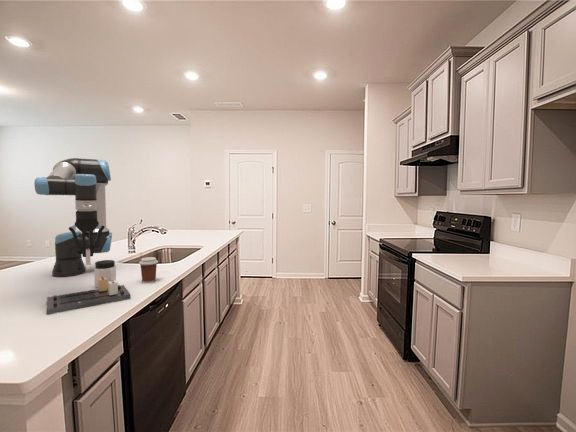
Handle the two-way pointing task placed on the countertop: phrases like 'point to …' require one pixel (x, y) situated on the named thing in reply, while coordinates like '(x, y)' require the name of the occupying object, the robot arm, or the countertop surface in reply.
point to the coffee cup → (148, 269)
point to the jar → (105, 271)
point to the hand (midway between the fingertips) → (88, 264)
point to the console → (84, 299)
